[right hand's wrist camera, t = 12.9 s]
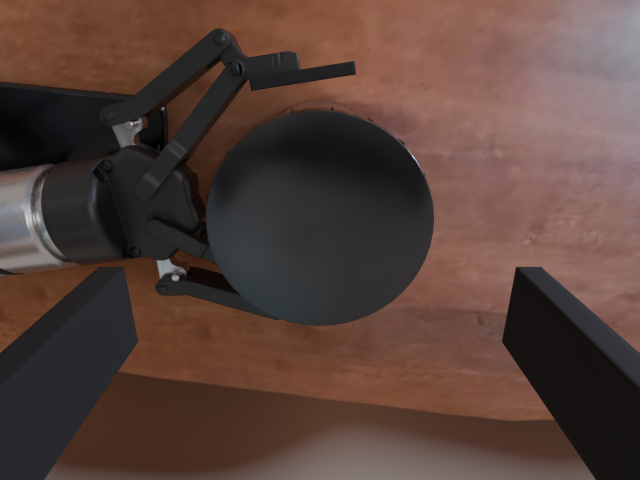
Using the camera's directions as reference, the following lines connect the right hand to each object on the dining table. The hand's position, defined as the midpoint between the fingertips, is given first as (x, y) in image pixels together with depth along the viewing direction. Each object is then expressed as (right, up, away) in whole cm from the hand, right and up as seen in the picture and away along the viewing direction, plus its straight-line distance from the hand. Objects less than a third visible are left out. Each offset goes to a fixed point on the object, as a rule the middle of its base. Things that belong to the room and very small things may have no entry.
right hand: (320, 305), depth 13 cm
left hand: (+3, +7, +16) cm, 18 cm away
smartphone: (-20, +10, +21) cm, 31 cm away
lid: (0, +3, +7) cm, 7 cm away
